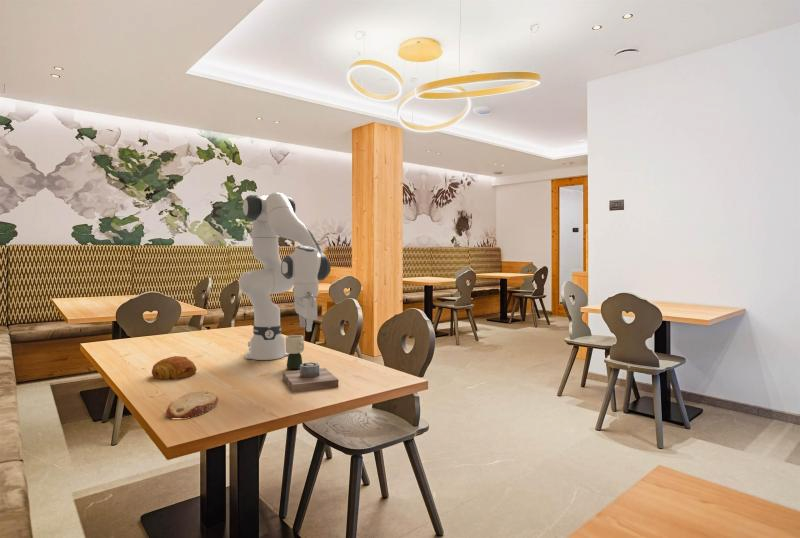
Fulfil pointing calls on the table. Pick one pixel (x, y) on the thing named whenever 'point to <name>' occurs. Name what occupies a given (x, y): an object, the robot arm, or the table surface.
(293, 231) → the robot arm
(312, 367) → the steel ring
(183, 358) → the croissant
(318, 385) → the post stand
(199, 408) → the bread slice
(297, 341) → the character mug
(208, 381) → the table surface
